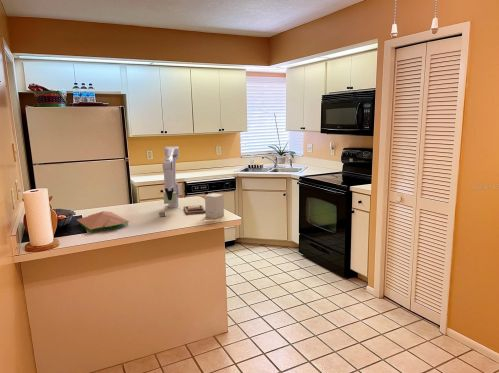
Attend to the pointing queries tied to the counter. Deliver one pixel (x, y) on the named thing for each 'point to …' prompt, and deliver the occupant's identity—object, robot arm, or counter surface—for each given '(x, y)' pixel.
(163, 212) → the charcoal mat
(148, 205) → the counter surface
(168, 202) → the pale green rectangular block
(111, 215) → the green-backed flat pad
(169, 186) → the robot arm
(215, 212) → the supplement box
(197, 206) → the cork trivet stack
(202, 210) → the walnut rack
